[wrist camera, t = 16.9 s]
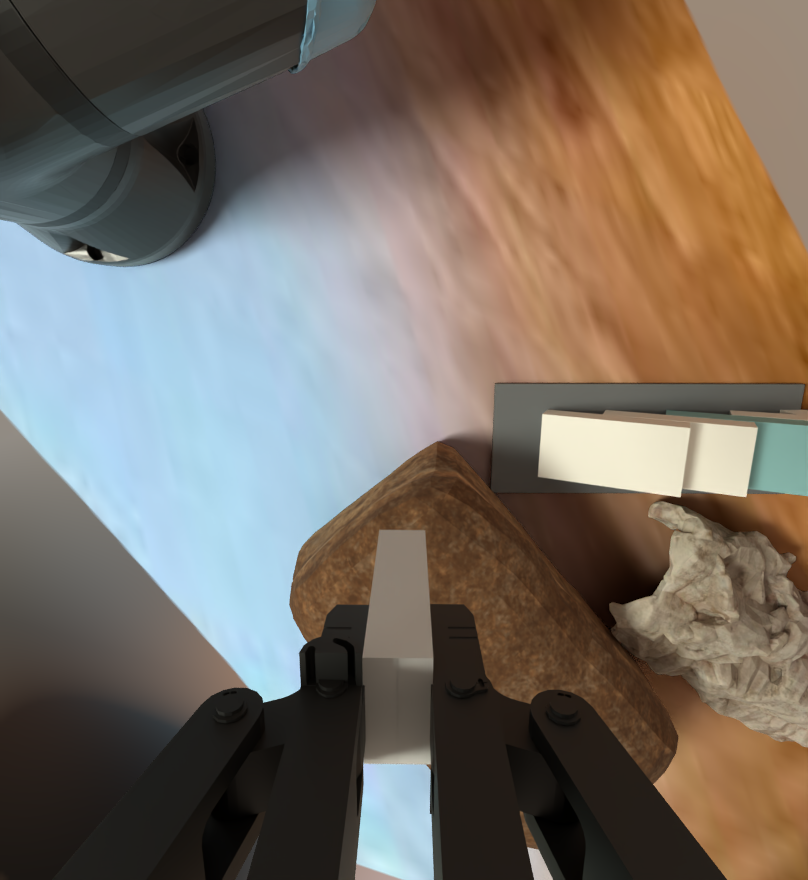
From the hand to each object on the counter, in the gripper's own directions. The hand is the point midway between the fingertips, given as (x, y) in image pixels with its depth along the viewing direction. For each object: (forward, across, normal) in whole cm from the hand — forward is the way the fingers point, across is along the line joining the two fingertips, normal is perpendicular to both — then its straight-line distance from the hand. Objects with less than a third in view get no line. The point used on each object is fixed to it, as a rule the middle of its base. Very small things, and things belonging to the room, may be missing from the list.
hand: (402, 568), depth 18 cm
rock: (+27, +28, -18) cm, 43 cm away
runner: (+26, +19, -2) cm, 32 cm away
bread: (+27, +6, -18) cm, 33 cm away
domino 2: (+25, +15, -2) cm, 29 cm away
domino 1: (+25, +11, -2) cm, 27 cm away
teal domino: (+25, +20, -2) cm, 32 cm away
